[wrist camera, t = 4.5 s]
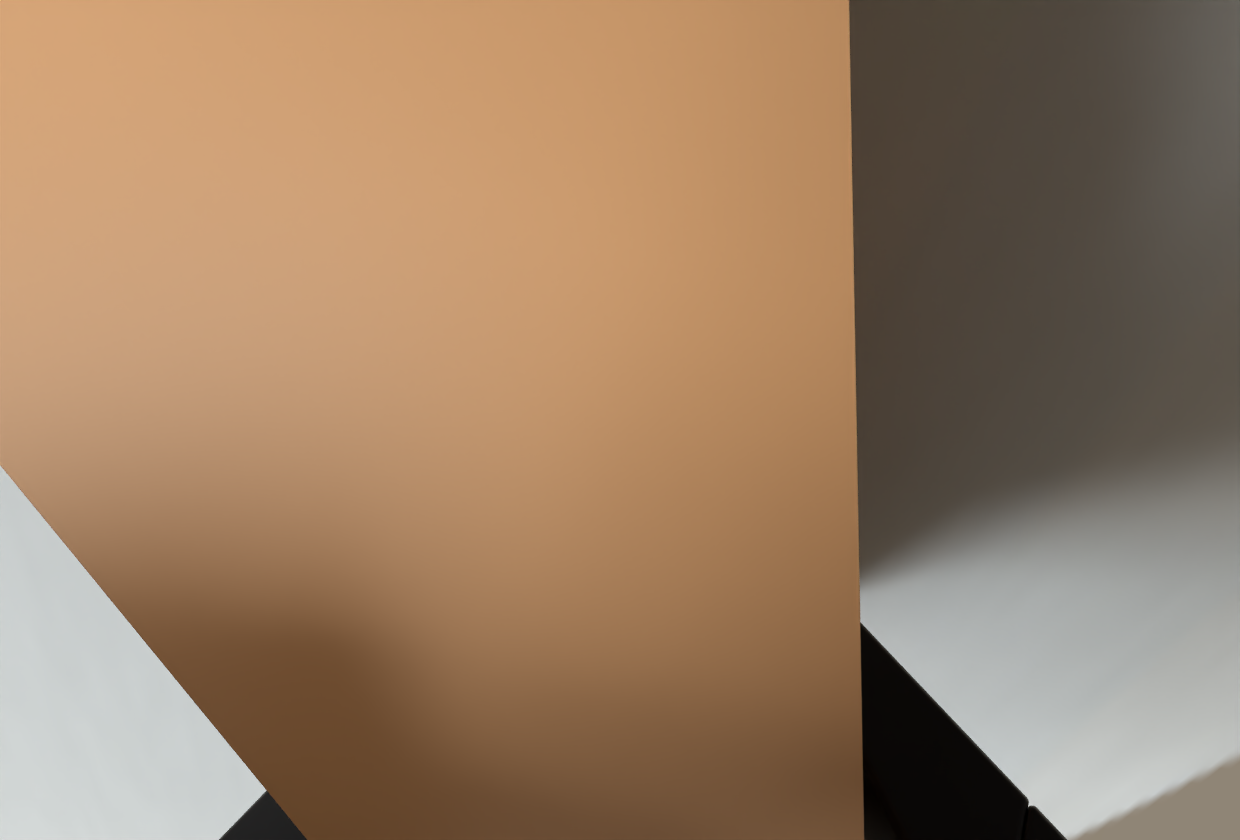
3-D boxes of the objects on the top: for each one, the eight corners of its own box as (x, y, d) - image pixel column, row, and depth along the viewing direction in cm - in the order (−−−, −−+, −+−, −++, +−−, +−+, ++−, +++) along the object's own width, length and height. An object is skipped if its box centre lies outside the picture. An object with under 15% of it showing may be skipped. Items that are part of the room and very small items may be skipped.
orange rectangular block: (697, -231, 5) (830, -1190, 1) (784, 620, 10) (866, 983, 6) (215, -89, 6) (-721, -415, 2) (514, 647, 11) (429, 989, 7)
